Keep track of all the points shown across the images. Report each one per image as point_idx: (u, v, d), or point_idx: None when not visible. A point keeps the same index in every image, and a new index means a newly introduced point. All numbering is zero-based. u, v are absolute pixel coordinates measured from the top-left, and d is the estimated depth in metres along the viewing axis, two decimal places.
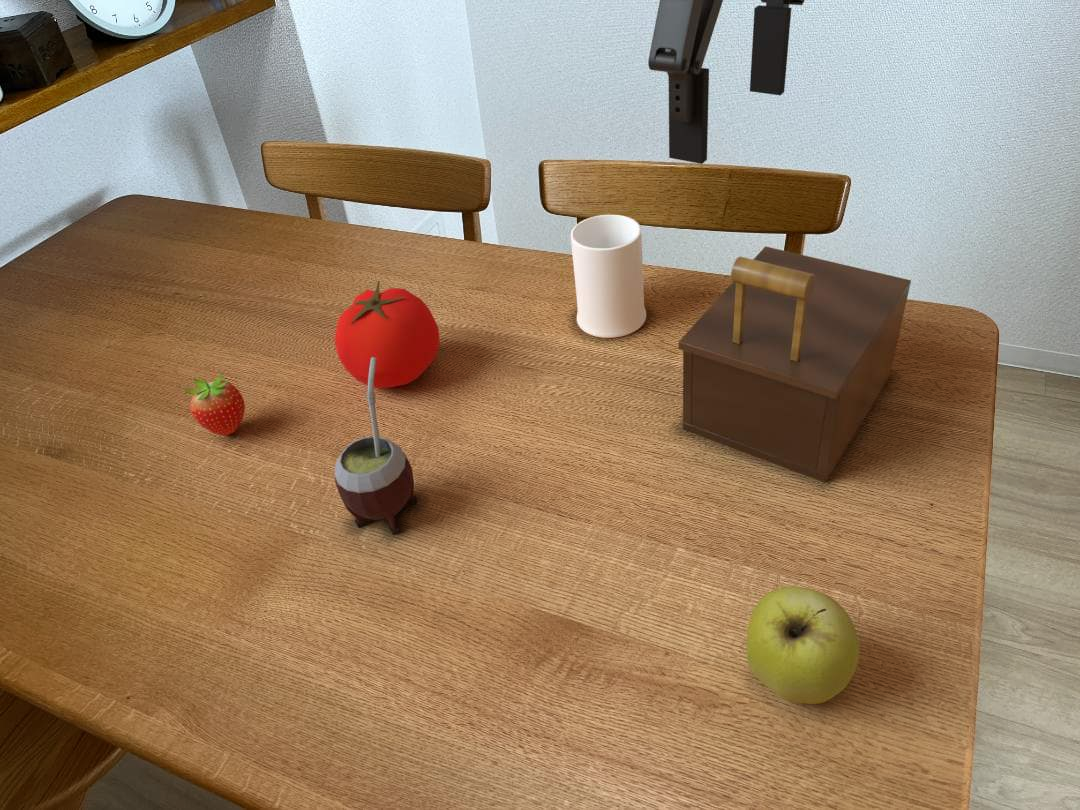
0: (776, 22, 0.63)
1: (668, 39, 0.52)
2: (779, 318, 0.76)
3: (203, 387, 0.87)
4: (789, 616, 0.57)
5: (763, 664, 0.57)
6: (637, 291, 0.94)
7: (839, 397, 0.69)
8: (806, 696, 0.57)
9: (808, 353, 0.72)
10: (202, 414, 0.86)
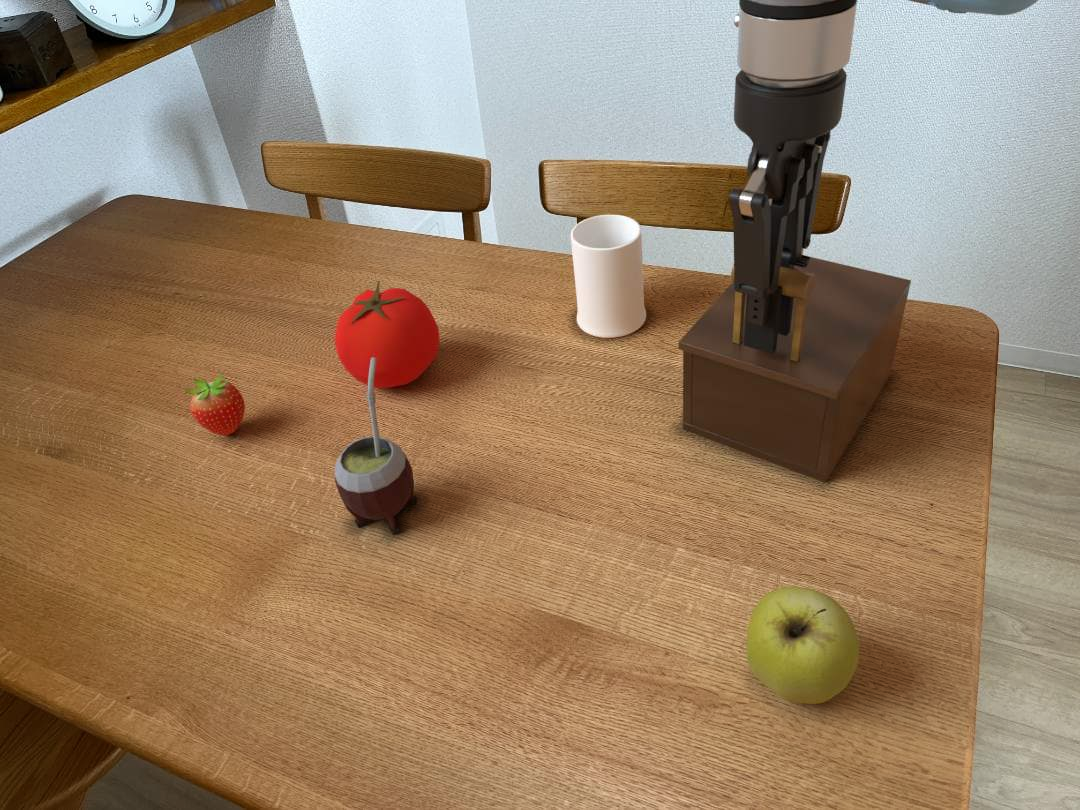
0: None
1: (747, 279, 0.63)
2: None
3: (203, 387, 0.87)
4: (789, 616, 0.57)
5: (763, 664, 0.57)
6: (637, 291, 0.94)
7: (839, 397, 0.69)
8: (806, 696, 0.57)
9: (808, 353, 0.72)
10: (202, 414, 0.86)
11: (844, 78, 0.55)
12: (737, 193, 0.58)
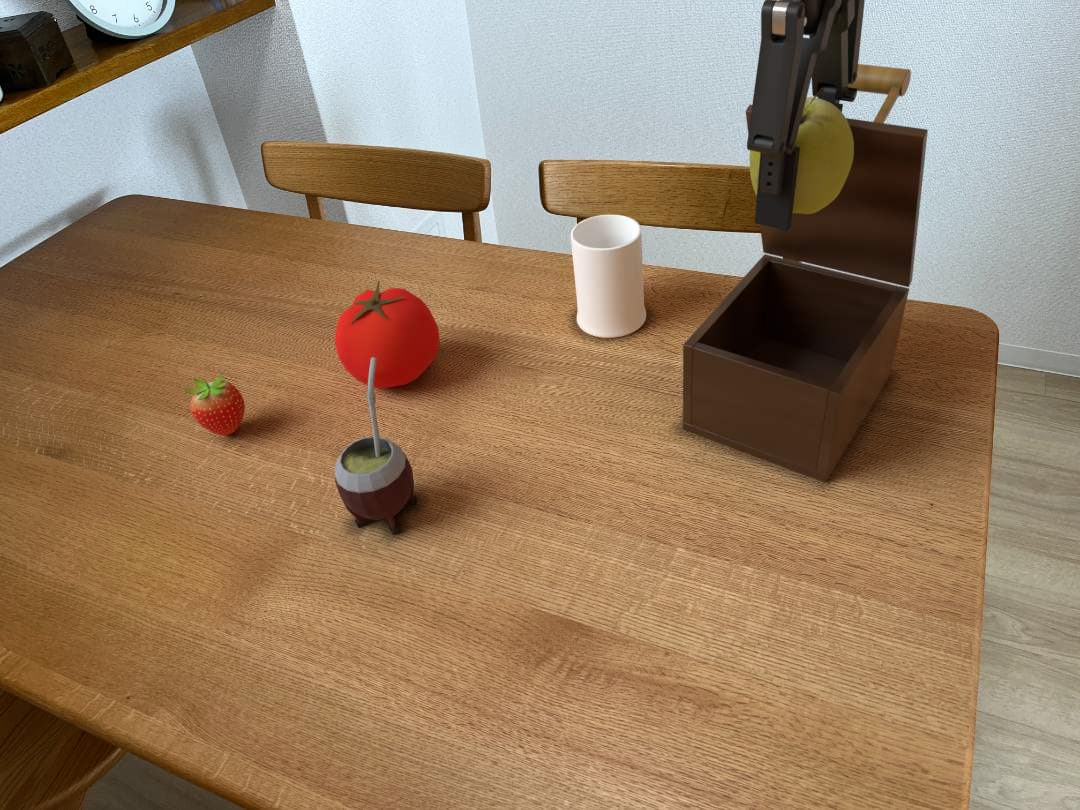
0: None
1: (765, 127, 0.56)
2: None
3: (203, 387, 0.87)
4: None
5: None
6: (637, 291, 0.94)
7: (839, 397, 0.69)
8: (804, 185, 0.61)
9: None
10: (202, 414, 0.86)
11: None
12: (771, 1, 0.52)
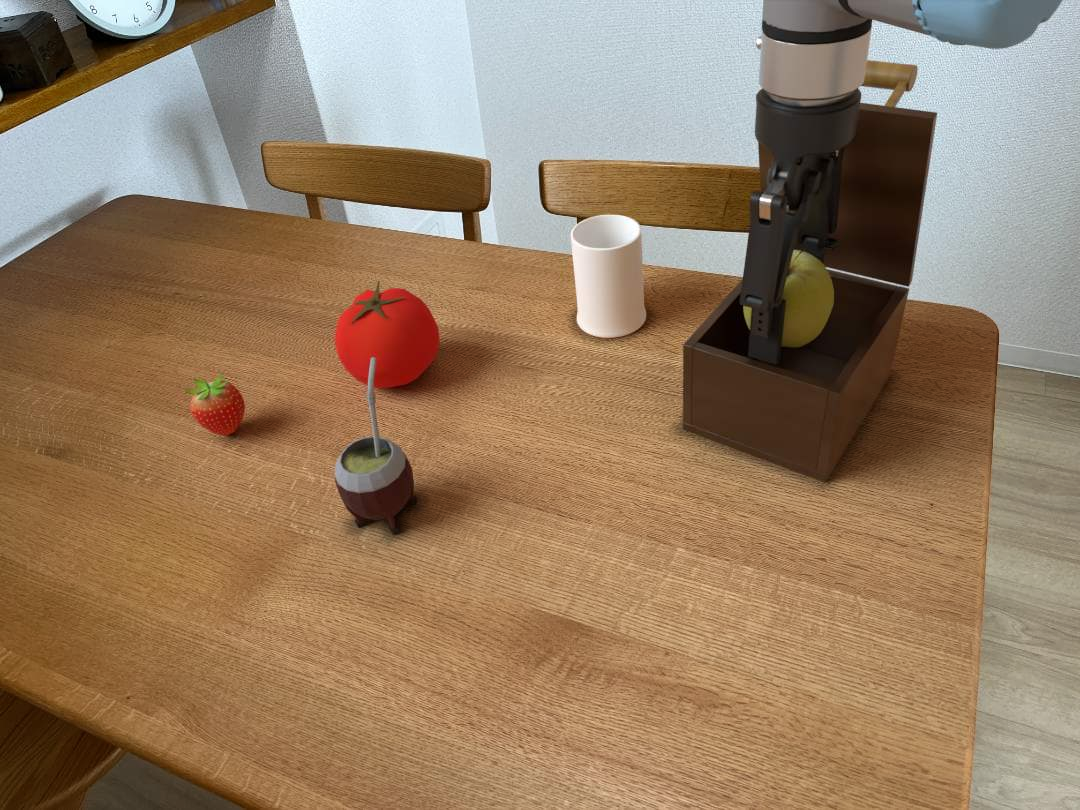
0: None
1: (755, 289, 0.65)
2: None
3: (203, 387, 0.87)
4: None
5: None
6: (637, 291, 0.94)
7: (839, 397, 0.69)
8: (791, 328, 0.70)
9: None
10: (202, 414, 0.86)
11: (859, 97, 0.59)
12: (758, 193, 0.61)
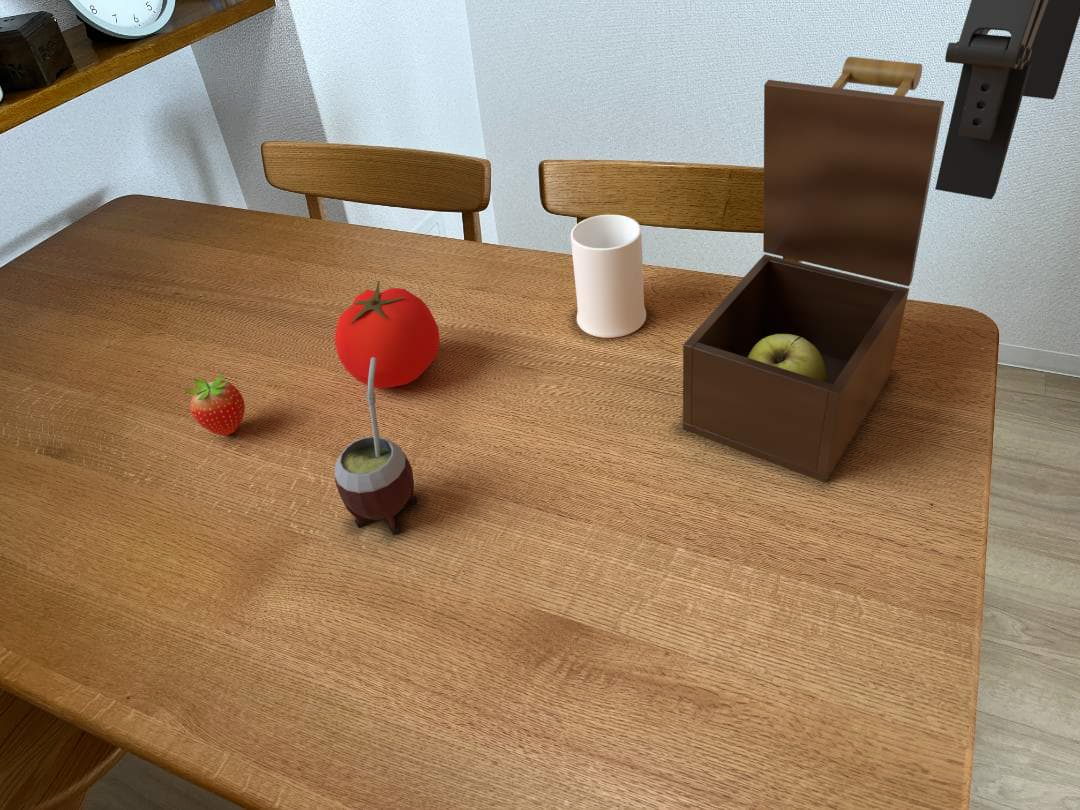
0: None
1: (997, 15, 0.34)
2: None
3: (203, 387, 0.87)
4: (774, 349, 0.78)
5: None
6: (637, 291, 0.94)
7: (839, 397, 0.69)
8: None
9: None
10: (202, 414, 0.86)
11: None
12: None
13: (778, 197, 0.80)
